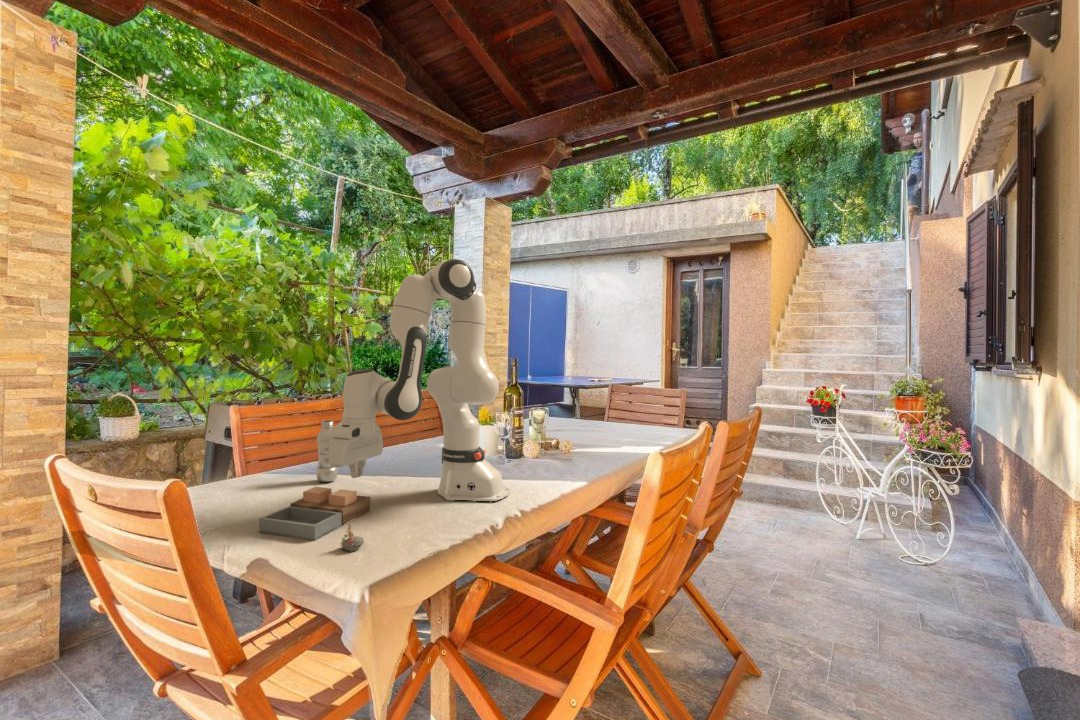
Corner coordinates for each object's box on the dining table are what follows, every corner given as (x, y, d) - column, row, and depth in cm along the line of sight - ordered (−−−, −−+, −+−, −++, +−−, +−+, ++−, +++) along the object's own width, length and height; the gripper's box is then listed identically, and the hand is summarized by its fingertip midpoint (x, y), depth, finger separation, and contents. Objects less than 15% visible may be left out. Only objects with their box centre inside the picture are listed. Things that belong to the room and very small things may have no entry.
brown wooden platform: (369, 511, 147) (370, 496, 147) (342, 525, 136) (342, 510, 135) (320, 504, 151) (320, 491, 151) (290, 518, 140) (290, 503, 140)
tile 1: (331, 497, 146) (331, 488, 145) (319, 502, 141) (319, 493, 141) (315, 495, 147) (315, 486, 147) (303, 500, 142) (303, 491, 142)
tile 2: (356, 500, 143) (356, 491, 143) (345, 506, 139) (345, 496, 139) (340, 498, 145) (340, 489, 145) (328, 504, 140) (328, 494, 140)
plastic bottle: (328, 477, 180) (328, 419, 179) (341, 480, 176) (342, 421, 175) (311, 482, 174) (312, 421, 173) (325, 485, 171) (325, 423, 170)
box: (341, 526, 135) (341, 512, 135) (314, 540, 125) (314, 526, 125) (288, 519, 139) (288, 506, 139) (259, 532, 130) (259, 518, 130)
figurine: (366, 543, 124) (362, 519, 123) (363, 552, 119) (359, 526, 119) (343, 548, 123) (339, 523, 122) (338, 556, 119) (334, 531, 118)
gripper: (370, 422, 159) (368, 468, 159) (325, 431, 139) (323, 483, 139) (389, 423, 157) (387, 470, 157) (345, 433, 138) (343, 486, 138)
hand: (356, 476), depth 148 cm, fingers closed
